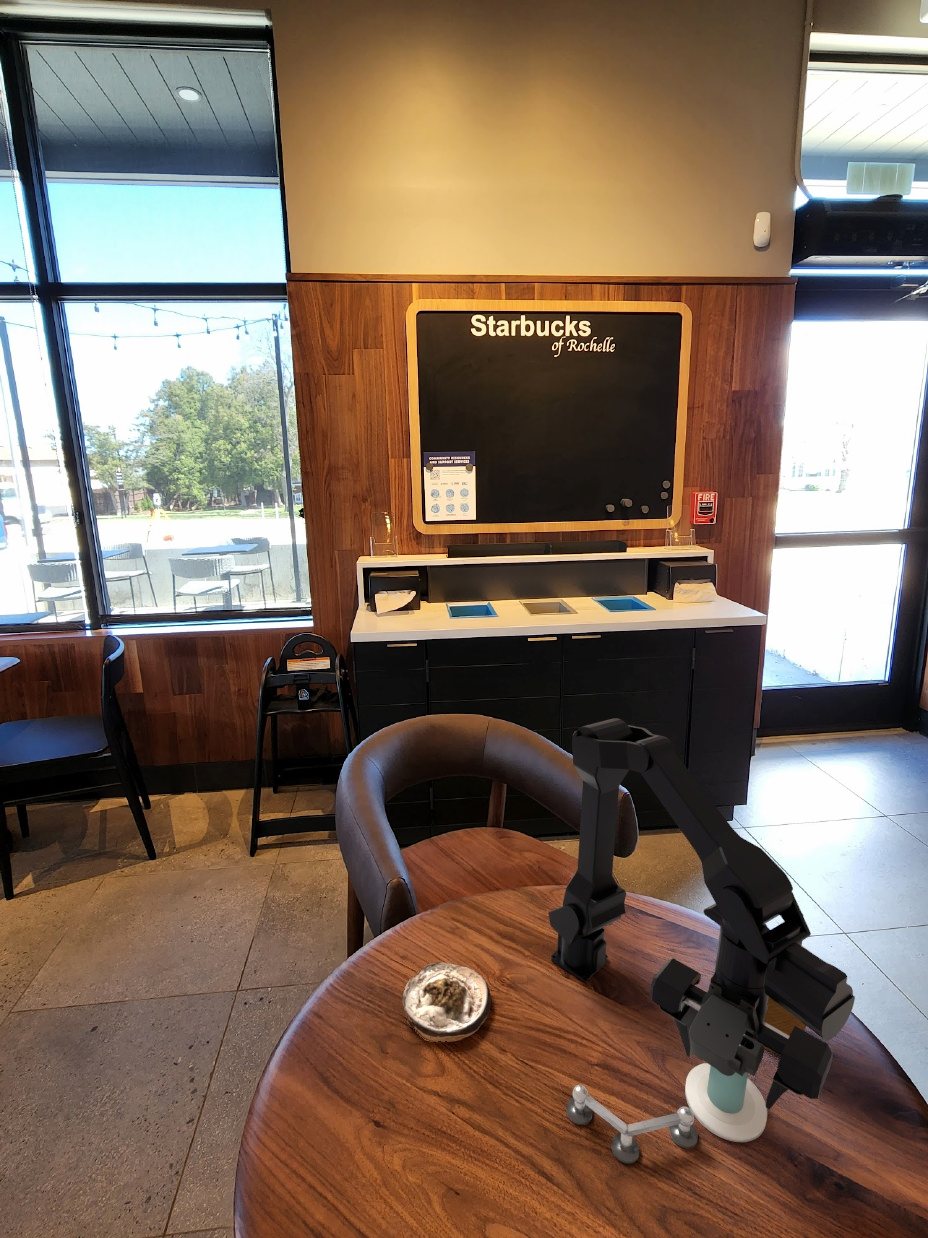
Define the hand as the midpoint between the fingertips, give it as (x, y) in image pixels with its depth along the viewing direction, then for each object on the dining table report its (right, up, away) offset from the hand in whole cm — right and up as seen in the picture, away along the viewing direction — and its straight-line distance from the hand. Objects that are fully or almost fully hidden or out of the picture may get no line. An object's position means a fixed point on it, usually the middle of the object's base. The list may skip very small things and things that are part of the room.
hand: (727, 1079), depth 74 cm
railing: (-12, -4, -2) cm, 13 cm away
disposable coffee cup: (+10, -1, +10) cm, 15 cm away
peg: (0, -3, +1) cm, 3 cm away
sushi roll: (-34, -1, +14) cm, 37 cm away
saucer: (0, -3, +1) cm, 4 cm away
